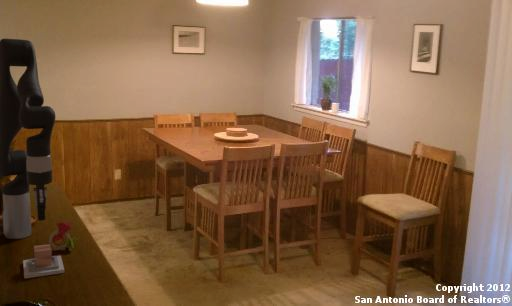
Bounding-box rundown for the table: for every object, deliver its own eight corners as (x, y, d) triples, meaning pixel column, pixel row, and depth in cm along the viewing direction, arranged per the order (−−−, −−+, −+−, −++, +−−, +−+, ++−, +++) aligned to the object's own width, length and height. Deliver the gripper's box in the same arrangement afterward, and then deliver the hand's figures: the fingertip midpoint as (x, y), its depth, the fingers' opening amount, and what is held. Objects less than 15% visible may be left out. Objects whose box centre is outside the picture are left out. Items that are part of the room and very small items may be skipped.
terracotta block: (34, 262, 171) (33, 246, 170) (50, 260, 173) (50, 244, 172) (35, 268, 167) (34, 251, 165) (52, 266, 169) (51, 249, 168)
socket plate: (23, 263, 173) (22, 258, 172) (60, 258, 178) (60, 253, 178) (24, 278, 162) (24, 272, 162) (64, 272, 167) (64, 267, 167)
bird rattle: (56, 259, 182) (80, 247, 184) (42, 233, 179) (66, 221, 181) (57, 252, 188) (80, 241, 190) (42, 227, 184) (67, 216, 186)
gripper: (25, 164, 167) (28, 214, 171) (27, 174, 156) (29, 227, 159) (50, 163, 171) (52, 212, 174) (53, 172, 159) (55, 225, 163)
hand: (41, 219), depth 167 cm, fingers closed
